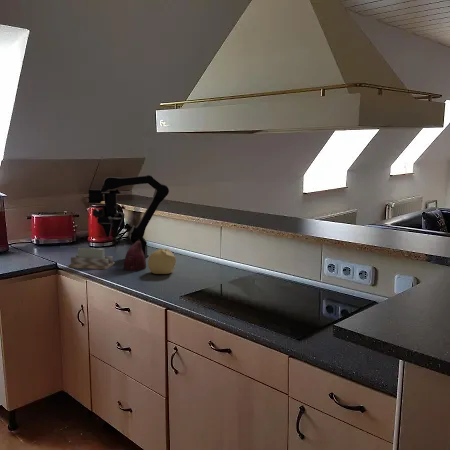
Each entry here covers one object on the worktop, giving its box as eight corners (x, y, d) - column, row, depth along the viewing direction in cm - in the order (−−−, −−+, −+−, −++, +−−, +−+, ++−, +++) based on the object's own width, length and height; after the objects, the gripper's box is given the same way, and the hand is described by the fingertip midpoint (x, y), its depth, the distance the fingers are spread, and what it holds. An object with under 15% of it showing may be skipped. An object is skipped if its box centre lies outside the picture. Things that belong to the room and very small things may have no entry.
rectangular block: (104, 263, 223) (104, 248, 222) (102, 264, 221) (102, 249, 220) (80, 262, 226) (80, 247, 224) (78, 263, 223) (77, 248, 222)
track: (114, 263, 227) (114, 255, 226) (105, 269, 217) (105, 260, 216) (79, 262, 230) (79, 253, 229) (68, 267, 220) (68, 258, 220)
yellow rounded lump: (179, 274, 208) (178, 250, 206) (151, 277, 203) (151, 252, 202) (172, 268, 218) (171, 245, 217) (145, 271, 214) (145, 247, 212)
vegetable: (149, 274, 221) (157, 243, 219) (133, 276, 213) (142, 244, 210) (133, 265, 227) (141, 235, 224) (117, 266, 218) (125, 235, 215)
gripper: (103, 200, 242) (104, 231, 245) (86, 205, 224) (87, 238, 227) (124, 201, 240) (125, 232, 243) (108, 205, 222) (109, 238, 225)
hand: (111, 235), depth 234 cm, fingers open, 9 cm apart
